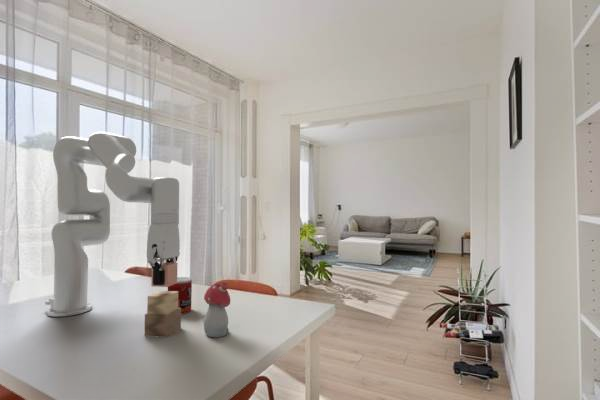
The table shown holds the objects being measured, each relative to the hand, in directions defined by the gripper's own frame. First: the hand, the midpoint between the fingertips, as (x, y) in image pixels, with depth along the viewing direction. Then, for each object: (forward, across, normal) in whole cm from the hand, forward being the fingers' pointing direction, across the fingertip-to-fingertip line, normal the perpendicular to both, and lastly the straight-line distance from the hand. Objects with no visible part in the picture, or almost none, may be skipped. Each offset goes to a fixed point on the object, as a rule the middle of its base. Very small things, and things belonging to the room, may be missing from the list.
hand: (164, 281), depth 92 cm
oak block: (+8, 0, 0) cm, 8 cm away
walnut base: (+14, 0, 0) cm, 14 cm away
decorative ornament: (+15, -1, +16) cm, 21 cm away
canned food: (+14, -18, -5) cm, 24 cm away
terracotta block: (+1, 0, 0) cm, 1 cm away
